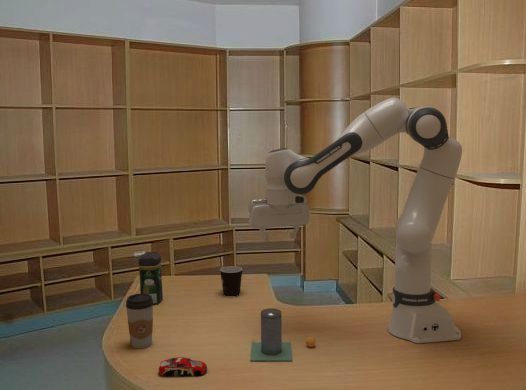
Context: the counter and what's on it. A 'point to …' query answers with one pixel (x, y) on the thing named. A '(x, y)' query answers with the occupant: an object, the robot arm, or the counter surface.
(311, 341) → the ball
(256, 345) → the mat
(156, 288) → the coffee jar
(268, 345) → the canister
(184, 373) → the race car
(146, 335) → the coffee cup
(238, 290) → the coffee mug
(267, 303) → the counter surface
